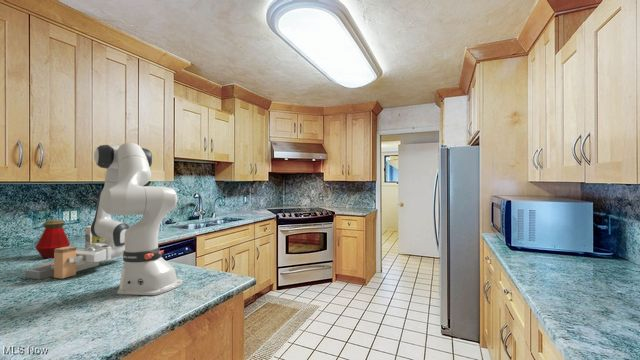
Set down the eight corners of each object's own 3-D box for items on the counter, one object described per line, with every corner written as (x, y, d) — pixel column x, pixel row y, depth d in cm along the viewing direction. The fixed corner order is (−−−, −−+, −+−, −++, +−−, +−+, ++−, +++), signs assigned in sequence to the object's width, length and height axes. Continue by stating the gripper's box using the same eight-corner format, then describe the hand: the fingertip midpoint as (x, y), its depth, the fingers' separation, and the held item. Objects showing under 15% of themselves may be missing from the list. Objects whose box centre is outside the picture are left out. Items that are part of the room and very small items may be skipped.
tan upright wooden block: (76, 274, 119) (76, 247, 119) (62, 278, 114) (62, 249, 114) (67, 273, 120) (67, 246, 120) (54, 277, 115) (54, 249, 116)
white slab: (99, 265, 135) (99, 259, 135) (45, 280, 114) (45, 272, 114) (69, 262, 140) (69, 256, 140) (13, 275, 119) (13, 269, 119)
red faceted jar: (28, 258, 148) (29, 221, 148) (60, 252, 161) (60, 218, 161) (44, 261, 142) (45, 222, 142) (76, 254, 155) (76, 219, 155)
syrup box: (101, 248, 169) (101, 225, 169) (89, 250, 164) (90, 226, 164) (95, 247, 172) (96, 224, 172) (84, 249, 166) (84, 226, 166)
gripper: (80, 244, 132) (45, 251, 119) (113, 246, 127) (80, 254, 114) (80, 257, 132) (45, 265, 119) (113, 260, 127) (80, 269, 114)
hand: (62, 260), depth 116 cm, fingers closed on tan upright wooden block, 5 cm apart
